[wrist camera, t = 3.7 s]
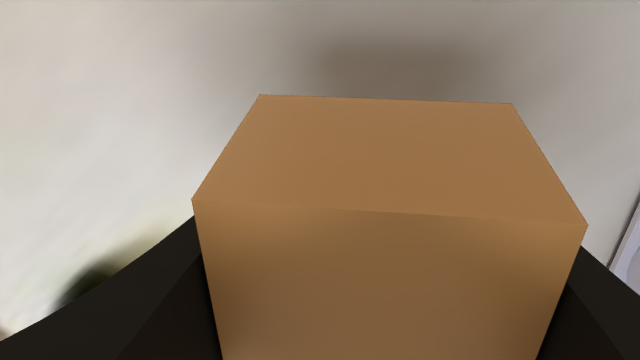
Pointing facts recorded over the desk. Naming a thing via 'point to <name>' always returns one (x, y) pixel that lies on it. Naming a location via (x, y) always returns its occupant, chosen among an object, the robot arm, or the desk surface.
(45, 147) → the desk surface
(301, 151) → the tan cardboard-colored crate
